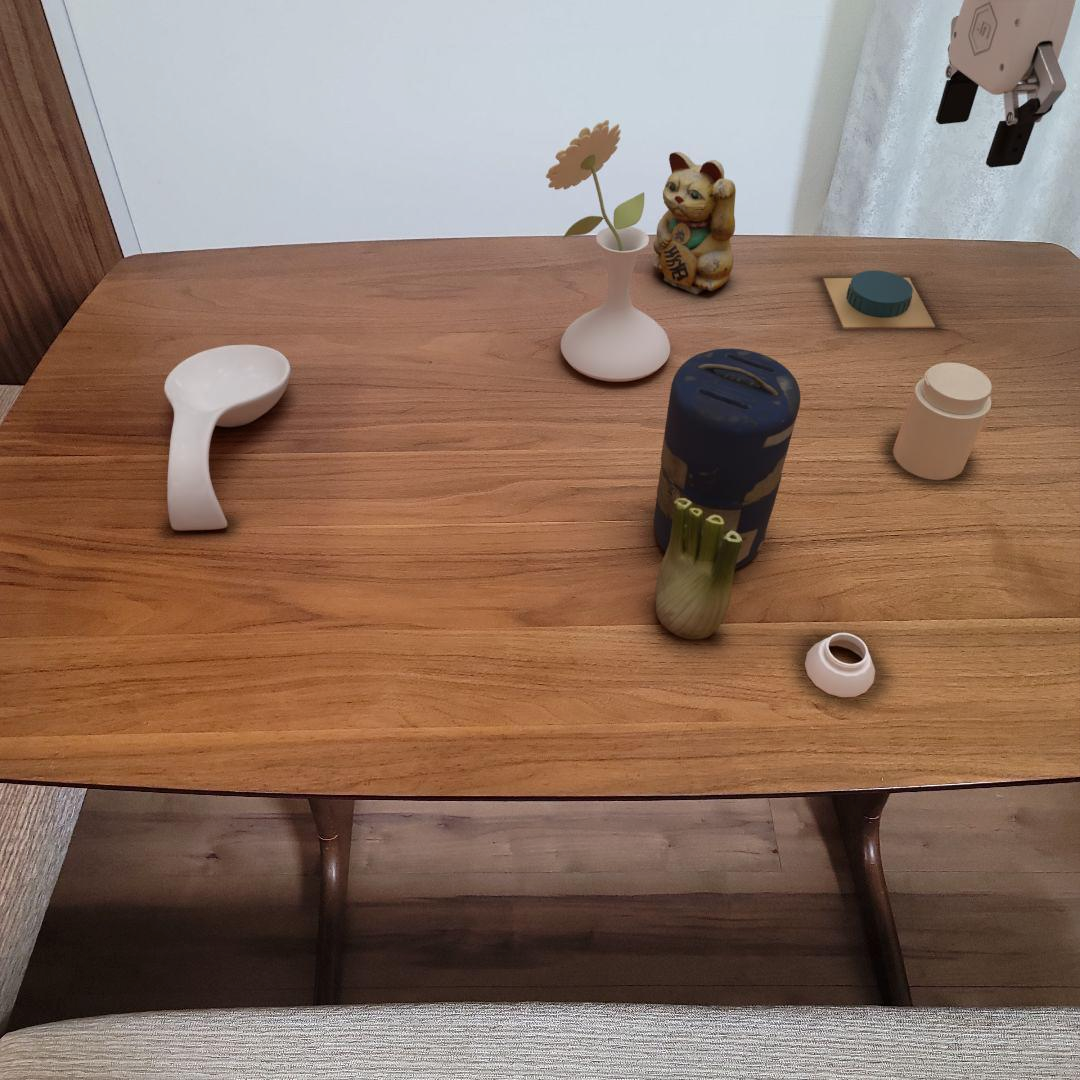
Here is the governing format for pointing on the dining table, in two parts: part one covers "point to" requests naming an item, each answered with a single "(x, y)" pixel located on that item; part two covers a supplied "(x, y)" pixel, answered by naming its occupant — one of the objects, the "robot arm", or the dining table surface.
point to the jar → (943, 421)
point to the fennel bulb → (696, 573)
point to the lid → (879, 293)
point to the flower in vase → (609, 274)
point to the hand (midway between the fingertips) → (975, 142)
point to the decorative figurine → (696, 226)
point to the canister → (727, 442)
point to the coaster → (854, 319)
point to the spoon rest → (214, 420)
